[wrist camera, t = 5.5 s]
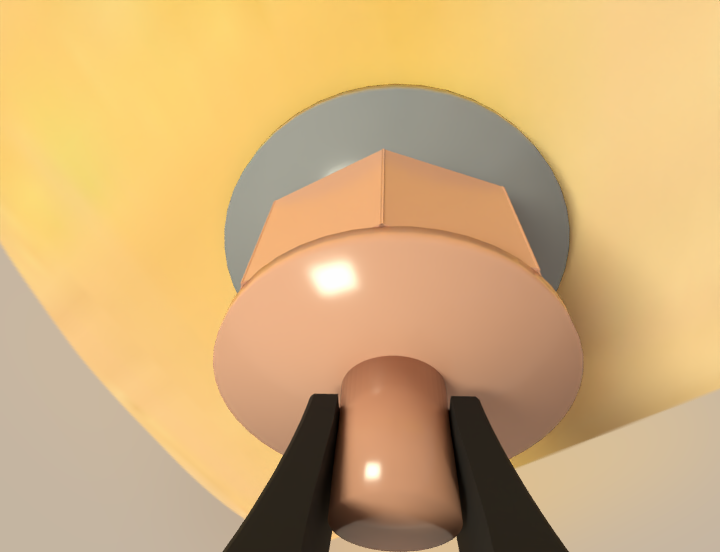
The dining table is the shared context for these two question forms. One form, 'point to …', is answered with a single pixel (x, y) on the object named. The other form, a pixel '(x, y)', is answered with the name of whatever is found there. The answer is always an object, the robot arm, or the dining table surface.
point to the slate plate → (409, 138)
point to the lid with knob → (396, 337)
